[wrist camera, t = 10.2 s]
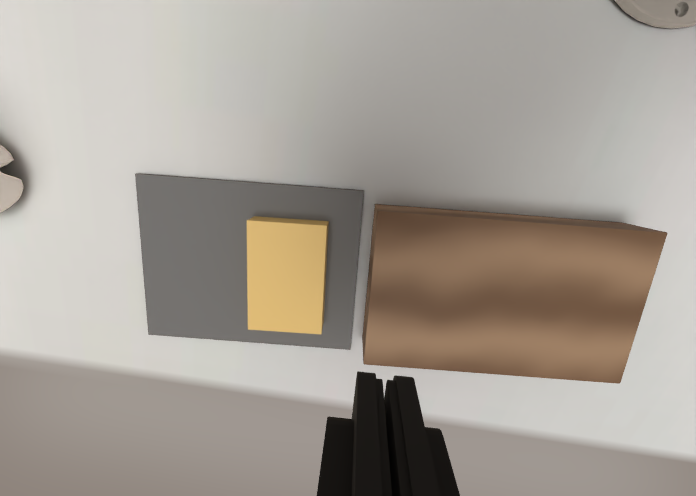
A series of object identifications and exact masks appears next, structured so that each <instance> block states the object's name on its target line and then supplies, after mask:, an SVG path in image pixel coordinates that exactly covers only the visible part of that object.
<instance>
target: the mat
mask: <svg viewBox="0 0 696 496" xmlns="http://www.w3.org/2000/svg"><path fill="white" fill-rule="evenodd" d="M135 176H136V189H137V201H138V213H139V225H140V237H141V249H142V262H143V274H144V286H145V298H146V310H147V322H148V335H161V336H174V337H188V338H201V339H214V340H228V341H241V342H254V343H268V344H281V345H294V346H307V347H321V348H334V349H347V350H350V348H351V336H352V324H353V312H354V300H355V288H356V277H357V265H358V253H359V241H360V229H361V217H362V205H363V193H364V191H363V190H349V189H336V188H323V187H309V186H296V185H283V184H270V183H256V182H243V181H230V180H216V179H203V178H190V177H177V176H163V175H150V174H135ZM254 216H258V217H273V218H288V219H303V220H318V221H329V225H328V245H327V265H326V284H325V304H324V323H323V328H322V334H307V333H292V332H277V331H262V330H248V299H247V220H248V219H250V218H252V217H254Z"/></svg>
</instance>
